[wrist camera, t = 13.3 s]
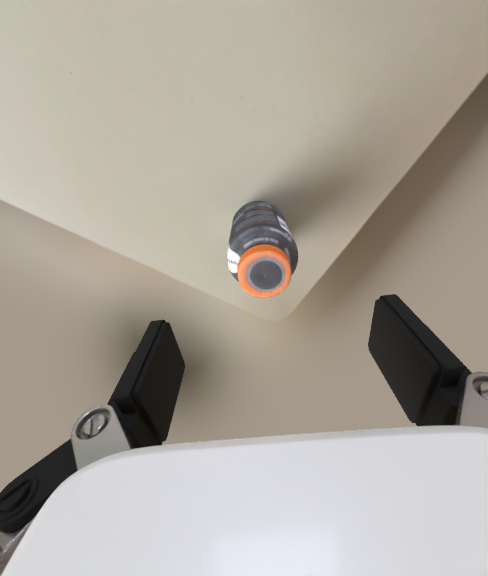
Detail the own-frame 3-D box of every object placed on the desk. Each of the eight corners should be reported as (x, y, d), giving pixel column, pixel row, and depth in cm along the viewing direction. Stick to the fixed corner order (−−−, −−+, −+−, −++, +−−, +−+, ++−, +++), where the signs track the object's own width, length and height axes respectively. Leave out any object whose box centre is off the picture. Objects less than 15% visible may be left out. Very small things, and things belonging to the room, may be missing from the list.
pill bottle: (225, 243, 29) (214, 298, 19) (240, 192, 26) (236, 226, 16) (273, 258, 30) (286, 317, 20) (293, 210, 27) (320, 252, 17)
